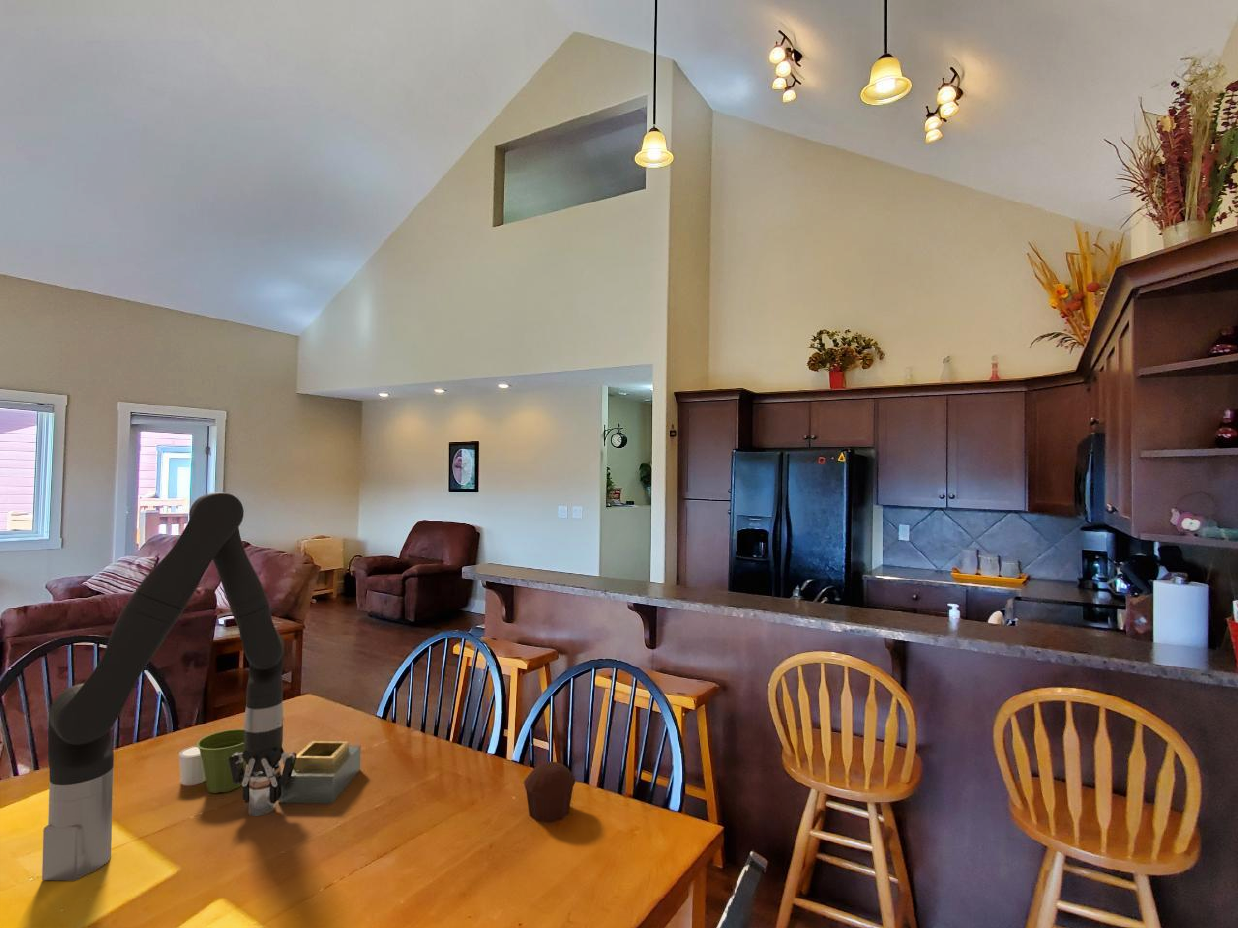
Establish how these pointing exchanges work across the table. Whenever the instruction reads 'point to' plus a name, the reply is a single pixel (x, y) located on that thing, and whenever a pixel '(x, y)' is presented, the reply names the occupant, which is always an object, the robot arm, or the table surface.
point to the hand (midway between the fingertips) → (262, 800)
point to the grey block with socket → (321, 772)
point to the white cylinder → (191, 766)
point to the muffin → (549, 791)
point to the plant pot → (221, 758)
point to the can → (260, 794)
